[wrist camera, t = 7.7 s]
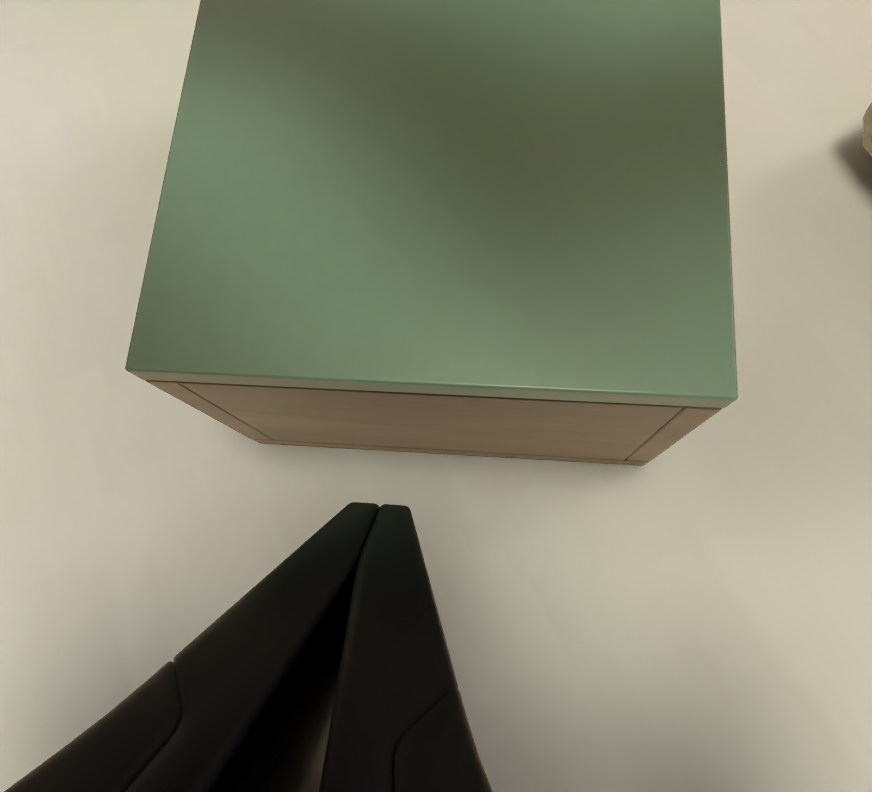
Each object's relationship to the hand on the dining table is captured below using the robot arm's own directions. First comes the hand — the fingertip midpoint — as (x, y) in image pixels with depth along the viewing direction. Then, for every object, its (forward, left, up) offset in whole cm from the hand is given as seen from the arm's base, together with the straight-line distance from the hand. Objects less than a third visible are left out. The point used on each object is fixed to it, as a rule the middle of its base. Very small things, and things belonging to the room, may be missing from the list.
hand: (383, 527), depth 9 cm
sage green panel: (+8, +6, -3) cm, 10 cm away
